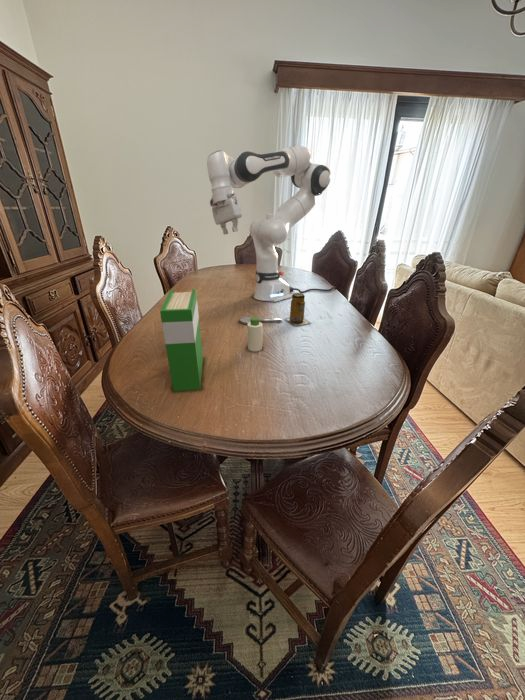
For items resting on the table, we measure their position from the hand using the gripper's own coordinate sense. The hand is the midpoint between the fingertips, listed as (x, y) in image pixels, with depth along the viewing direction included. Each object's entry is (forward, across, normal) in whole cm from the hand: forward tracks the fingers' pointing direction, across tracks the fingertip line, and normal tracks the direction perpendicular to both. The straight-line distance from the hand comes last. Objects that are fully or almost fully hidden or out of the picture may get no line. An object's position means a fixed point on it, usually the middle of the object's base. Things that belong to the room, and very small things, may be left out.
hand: (230, 232), depth 123 cm
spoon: (+38, -13, 0) cm, 40 cm away
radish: (+41, -33, +15) cm, 55 cm away
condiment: (+41, -21, -14) cm, 48 cm away
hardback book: (+40, -37, +41) cm, 68 cm away
